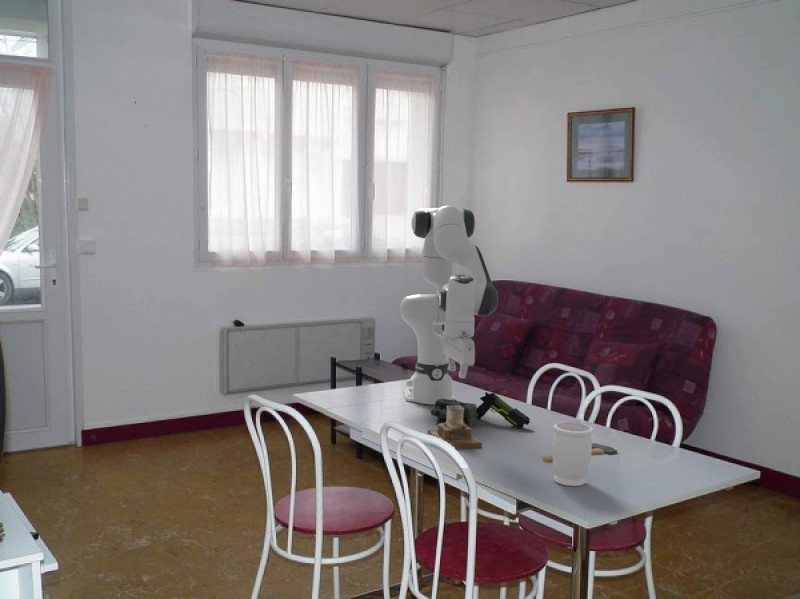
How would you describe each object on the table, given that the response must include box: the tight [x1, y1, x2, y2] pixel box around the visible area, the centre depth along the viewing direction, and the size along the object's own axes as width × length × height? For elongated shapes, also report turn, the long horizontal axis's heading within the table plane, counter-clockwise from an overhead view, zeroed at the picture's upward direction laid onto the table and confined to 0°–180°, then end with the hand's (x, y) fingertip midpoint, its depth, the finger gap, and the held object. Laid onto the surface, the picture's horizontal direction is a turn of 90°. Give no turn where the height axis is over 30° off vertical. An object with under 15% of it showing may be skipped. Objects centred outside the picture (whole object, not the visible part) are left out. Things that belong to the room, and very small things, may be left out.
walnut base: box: [427, 422, 483, 450], centre depth 257 cm, size 16×12×4 cm
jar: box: [551, 421, 594, 487], centre depth 223 cm, size 11×10×15 cm
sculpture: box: [430, 399, 477, 426], centre depth 280 cm, size 12×8×15 cm
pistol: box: [476, 391, 531, 430], centre depth 279 cm, size 21×3×10 cm, turn 54°
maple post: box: [445, 405, 464, 429], centre depth 257 cm, size 4×4×9 cm
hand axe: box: [542, 442, 618, 463], centre depth 249 cm, size 27×2×10 cm
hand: (457, 374), depth 255 cm, fingers open, 8 cm apart
